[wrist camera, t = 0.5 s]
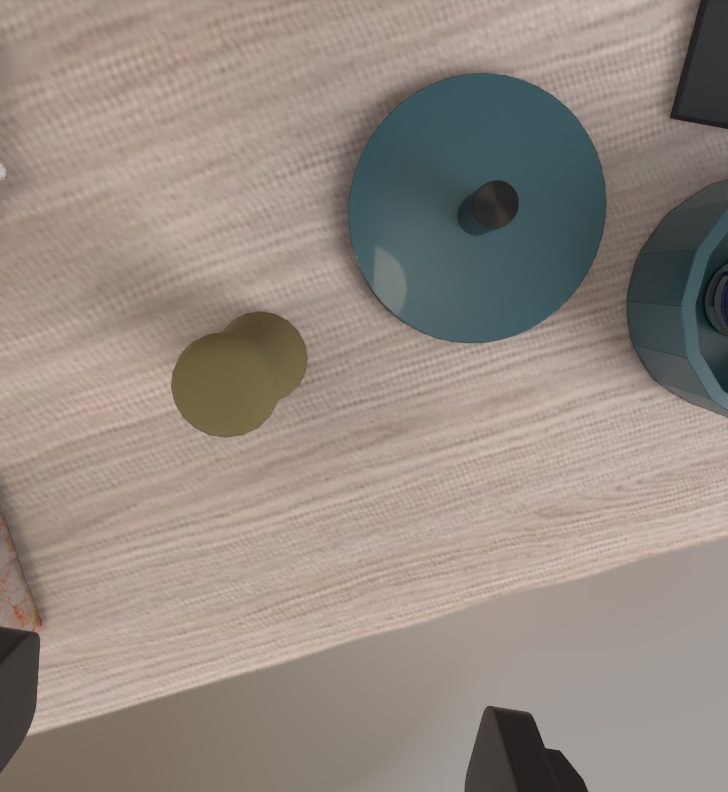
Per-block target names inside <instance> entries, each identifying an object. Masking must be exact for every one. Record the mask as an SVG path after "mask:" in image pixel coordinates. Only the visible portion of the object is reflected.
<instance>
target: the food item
mask: <svg viewBox="0 0 728 792" xmlns="http://www.w3.org/2000/svg"><path fill="white" fill-rule="evenodd" d="M0 626H1V627H7V628H13V629H20V630H26V631H32V632H36V633H37V632H38V631H39V630H40V629H41V628H42V620H41V618H40V616H39V614H38V612H37V610H36V607H35V605H34V602H33V598H32V594H31V592H30V590H29V588H28V585H27V583H26V581H25V579H24V574H23V571H22V568H21V566H20V562H19V560H18V557H17V555H16V553H15V550H14V545H13V542H12V539H11V536H10V533H9V530H8V527H7V524H6V521H5V518H4V515H3V514H2V512H1V509H0Z"/></svg>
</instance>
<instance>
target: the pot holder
mask: <svg viewBox="0 0 728 792" xmlns="http://www.w3.org/2000/svg"><path fill="white" fill-rule="evenodd" d="M671 118H673V119H679V120H684V121H690V122H695V123H701V124H706V125H712V126H717V127H722V128H728V0H701V3H700V7H699V11H698V15H697V18H696V22H695V26H694V30H693V34H692V37H691V41H690V45H689V49H688V53H687V56H686V60H685V64H684V68H683V72H682V75H681V79H680V83H679V87H678V91H677V94H676V98H675V102H674V106H673V110H672V113H671Z"/></svg>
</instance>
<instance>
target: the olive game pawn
mask: <svg viewBox="0 0 728 792" xmlns="http://www.w3.org/2000/svg"><path fill="white" fill-rule="evenodd" d="M306 364H307V353H306V347H305V343H304V342H303V340H302V338H301V336H300V334H299V332H298V331H297V330H296V329H295V328H294V327H293V326H292V325H291V324H290V323H289V322H288V321H287V320H285V319H283V318H281V317H279V316H277V315H275V314H270V313H264V312H256V313H249V314H245V315H243V316H241V317H239V318H237V319H235V320H233V321H232V322H231V323H230V324H229V325H228V326H227V328H226V329H225V330H224V331H223V332H220V333H213V334H208V335H206V336H204V337H202V338H200V339H198V340H196V341H194V342H192V343H191V344H190V345H189V346H188V347H187V348H186V349H185V350H184V351H183V352H182V353H181V355H180V357H179V359H178V361H177V363H176V366H175V368H174V370H173V374H172V384H171V389H172V393H173V398H174V402H175V404H176V406H177V408H178V409H179V411H180V413H181V415H182V416H183V418H185V419H186V420H187V421H188V422H189V423H190V424H191V425H192V426H193V427H194V428H196V429H198V430H200V431H202V432H204V433H206V434H208V435H212V436H218V437H225V438H226V437H233V436H240V435H244V434H246V433H248V432H250V431H253V430H255V429H257V428H258V427H260V426H261V425H262V424H263V423H264V422H265V421H266V420H267V419H268V418H269V417H270V415H271V413H272V411H273V409H274V407H275V405H276V403H277V401H278V400H279V399H281V398H283V397H285V396H287V395H289V394H290V393H291V392H292V391H293V390H294V389H295V388H296V387H297V386H298V385H299V384H300V382H301V380H302V378H303V376H304V374H305V371H306Z"/></svg>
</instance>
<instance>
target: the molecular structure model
mask: <svg viewBox="0 0 728 792" xmlns="http://www.w3.org/2000/svg"><path fill="white" fill-rule="evenodd" d="M6 173H7V172H6V168H5V166H4V165H3V163H2V162H0V180H2V179H4V178H5V176H6Z"/></svg>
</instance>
